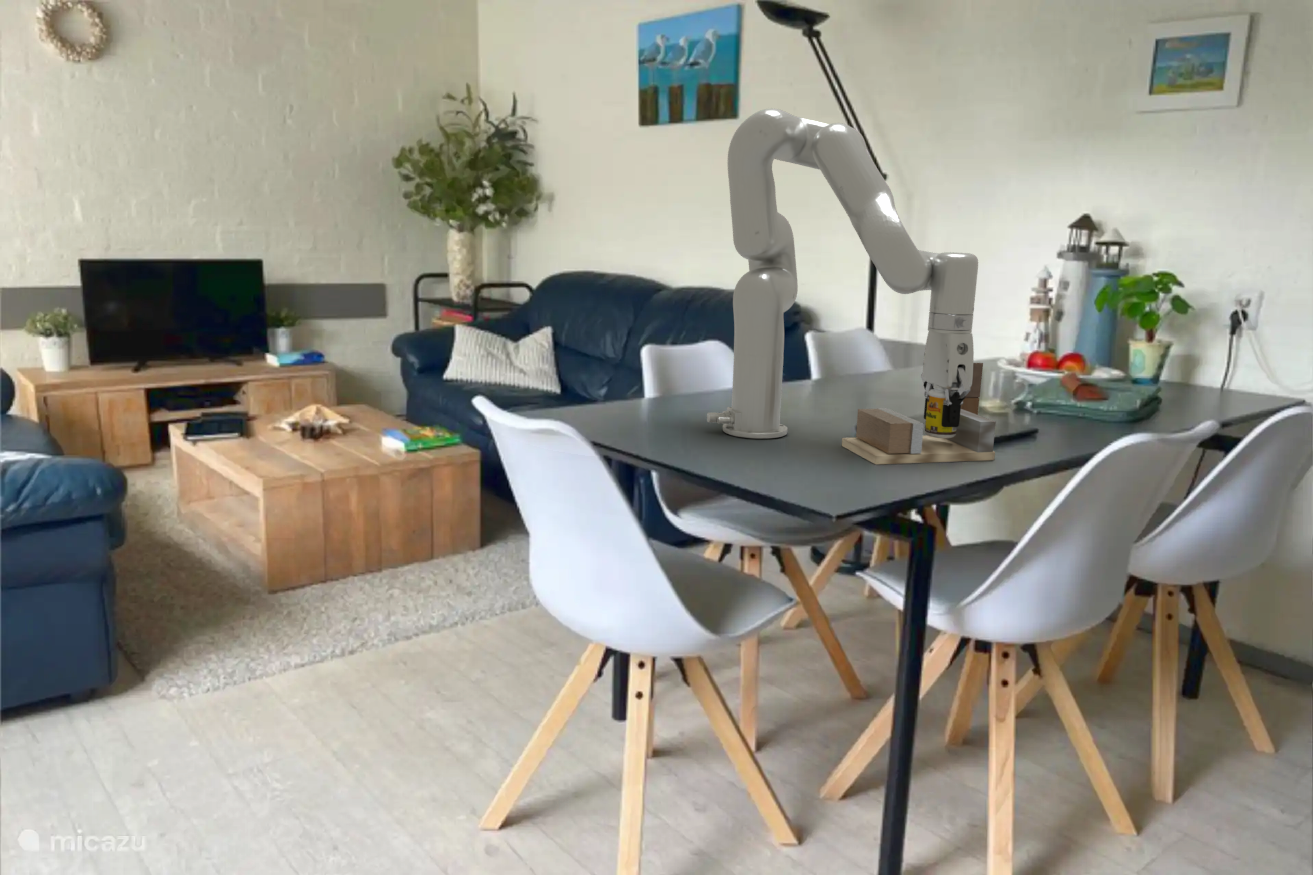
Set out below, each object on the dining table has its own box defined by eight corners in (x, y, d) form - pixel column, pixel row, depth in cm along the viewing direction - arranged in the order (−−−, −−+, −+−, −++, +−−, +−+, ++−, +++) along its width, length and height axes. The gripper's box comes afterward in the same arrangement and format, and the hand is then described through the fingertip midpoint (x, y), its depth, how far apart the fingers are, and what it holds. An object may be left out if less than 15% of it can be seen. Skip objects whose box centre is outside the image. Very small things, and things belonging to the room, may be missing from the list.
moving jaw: (889, 454, 167) (892, 424, 166) (854, 436, 181) (856, 408, 179) (921, 453, 169) (923, 423, 168) (884, 435, 182) (886, 407, 181)
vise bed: (875, 464, 167) (878, 424, 166) (841, 445, 180) (844, 408, 179) (994, 460, 173) (998, 421, 171) (953, 442, 186) (956, 406, 184)
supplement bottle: (919, 432, 179) (924, 377, 177) (948, 432, 180) (954, 377, 178) (931, 439, 174) (936, 382, 172) (960, 439, 174) (966, 383, 172)
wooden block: (959, 432, 195) (968, 343, 191) (937, 421, 205) (945, 336, 201) (977, 432, 195) (986, 343, 191) (954, 421, 206) (962, 336, 202)
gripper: (996, 328, 165) (985, 432, 169) (944, 318, 181) (935, 413, 185) (956, 329, 163) (946, 433, 167) (907, 318, 180) (899, 414, 184)
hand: (940, 421), depth 176 cm, fingers closed on supplement bottle, 5 cm apart
